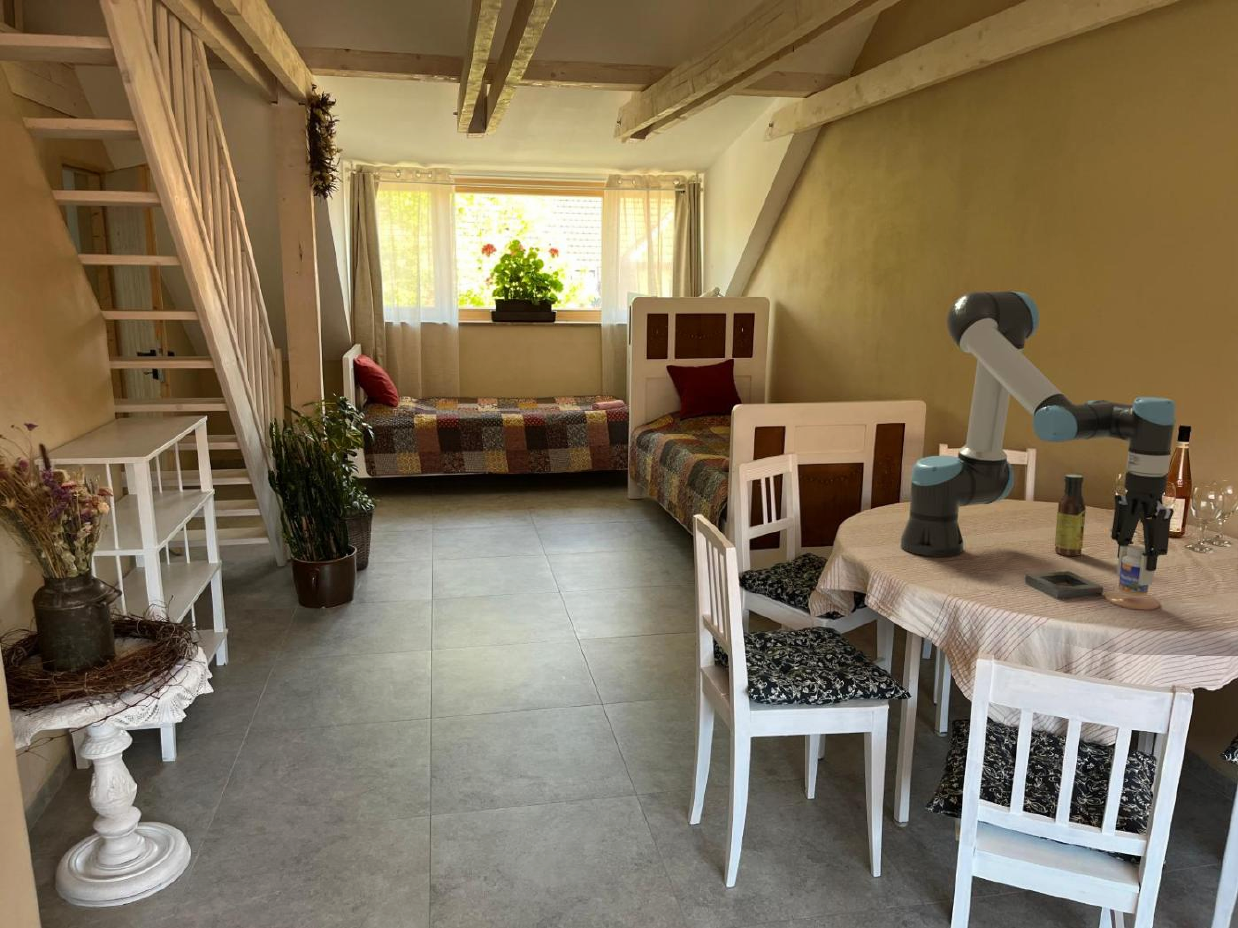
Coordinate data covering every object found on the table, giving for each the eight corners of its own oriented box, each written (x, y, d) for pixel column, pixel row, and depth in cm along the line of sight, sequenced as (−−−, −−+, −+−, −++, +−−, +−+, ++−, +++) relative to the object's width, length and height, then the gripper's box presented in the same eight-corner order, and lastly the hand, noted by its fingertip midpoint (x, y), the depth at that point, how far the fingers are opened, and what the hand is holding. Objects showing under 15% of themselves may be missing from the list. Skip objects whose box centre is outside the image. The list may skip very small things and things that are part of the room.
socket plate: (1024, 582, 201) (1025, 574, 200) (1067, 579, 203) (1068, 571, 202) (1057, 599, 190) (1058, 590, 190) (1102, 595, 192) (1103, 586, 192)
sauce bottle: (1084, 557, 218) (1093, 479, 214) (1057, 556, 220) (1065, 478, 216) (1077, 550, 225) (1084, 473, 221) (1050, 548, 226) (1057, 472, 222)
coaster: (1094, 595, 192) (1094, 592, 192) (1134, 591, 194) (1134, 589, 194) (1129, 611, 183) (1129, 609, 183) (1170, 608, 185) (1171, 605, 185)
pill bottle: (1114, 592, 188) (1119, 548, 186) (1122, 585, 192) (1127, 542, 190) (1143, 598, 184) (1148, 553, 182) (1150, 592, 188) (1156, 548, 186)
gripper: (1098, 464, 191) (1088, 567, 196) (1166, 483, 173) (1152, 595, 178) (1129, 463, 192) (1117, 565, 197) (1199, 481, 175) (1184, 593, 179)
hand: (1134, 579), depth 188 cm, fingers closed on pill bottle, 5 cm apart
